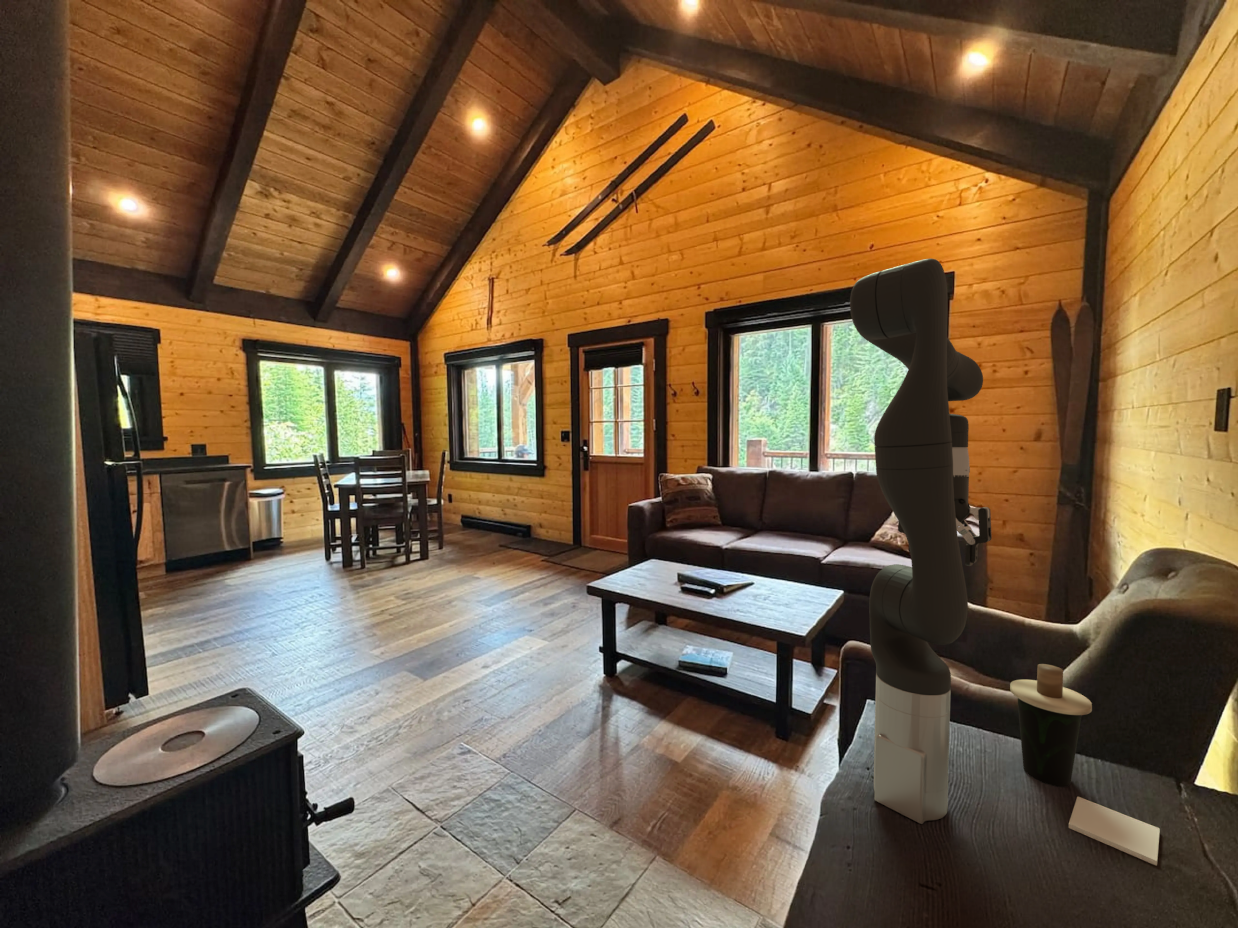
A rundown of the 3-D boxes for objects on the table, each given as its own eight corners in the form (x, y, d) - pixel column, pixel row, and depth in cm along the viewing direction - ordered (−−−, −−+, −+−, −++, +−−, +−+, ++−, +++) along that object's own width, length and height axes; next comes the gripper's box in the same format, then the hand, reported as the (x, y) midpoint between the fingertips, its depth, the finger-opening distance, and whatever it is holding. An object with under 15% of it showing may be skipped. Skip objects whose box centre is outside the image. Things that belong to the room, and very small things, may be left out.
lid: (1086, 722, 70) (1087, 688, 70) (1003, 696, 77) (1004, 666, 77) (1095, 700, 76) (1096, 669, 76) (1017, 678, 84) (1018, 650, 83)
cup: (1054, 761, 81) (1056, 688, 80) (1094, 793, 73) (1096, 713, 73) (1003, 757, 81) (1005, 685, 81) (1037, 789, 74) (1040, 709, 73)
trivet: (1156, 865, 60) (1157, 860, 60) (1068, 827, 66) (1068, 823, 66) (1159, 832, 65) (1159, 828, 65) (1077, 800, 71) (1077, 796, 71)
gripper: (893, 471, 93) (892, 557, 94) (985, 474, 83) (983, 571, 83) (908, 470, 98) (906, 552, 99) (997, 473, 88) (994, 564, 88)
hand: (941, 560), depth 91 cm, fingers open, 8 cm apart
